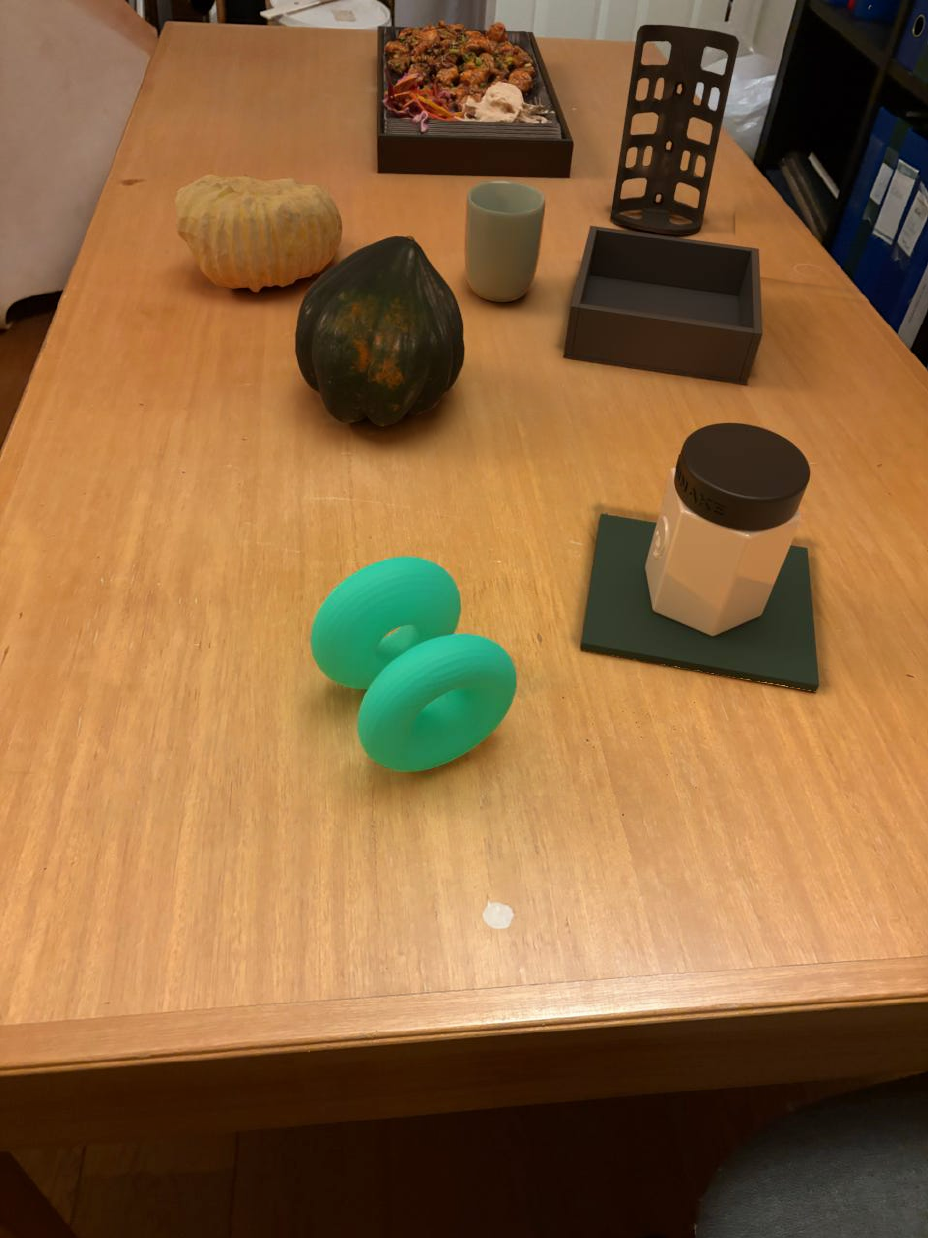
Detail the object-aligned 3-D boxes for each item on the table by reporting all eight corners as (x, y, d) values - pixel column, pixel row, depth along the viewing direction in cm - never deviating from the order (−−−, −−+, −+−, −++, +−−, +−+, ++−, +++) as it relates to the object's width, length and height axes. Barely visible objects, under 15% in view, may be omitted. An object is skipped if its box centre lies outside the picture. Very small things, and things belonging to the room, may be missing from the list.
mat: (804, 555, 72) (807, 547, 71) (815, 693, 62) (819, 685, 62) (599, 520, 74) (600, 513, 73) (579, 650, 64) (581, 642, 63)
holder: (609, 231, 109) (642, 31, 95) (604, 210, 114) (635, 19, 101) (703, 238, 109) (749, 40, 96) (693, 217, 114) (735, 28, 101)
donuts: (444, 636, 64) (450, 527, 57) (517, 742, 58) (534, 636, 51) (309, 685, 61) (296, 576, 53) (372, 804, 55) (368, 699, 48)
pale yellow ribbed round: (357, 309, 99) (324, 218, 106) (359, 220, 90) (323, 127, 97) (195, 328, 95) (172, 232, 101) (181, 237, 85) (156, 138, 92)
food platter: (569, 177, 119) (580, 89, 112) (377, 172, 118) (376, 82, 110) (530, 63, 150) (537, -13, 142) (377, 57, 148) (376, -19, 140)
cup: (453, 304, 96) (458, 206, 88) (471, 270, 101) (476, 175, 94) (527, 316, 95) (538, 218, 87) (541, 281, 100) (552, 186, 93)
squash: (241, 375, 75) (358, 252, 67) (291, 293, 86) (398, 178, 77) (371, 486, 81) (494, 386, 73) (403, 397, 92) (513, 301, 83)
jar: (637, 547, 70) (671, 414, 62) (744, 552, 71) (793, 420, 62) (653, 635, 64) (693, 501, 55) (769, 640, 64) (827, 507, 56)
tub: (745, 296, 100) (759, 248, 96) (746, 385, 88) (763, 333, 84) (582, 274, 102) (590, 225, 98) (563, 357, 90) (570, 305, 86)
